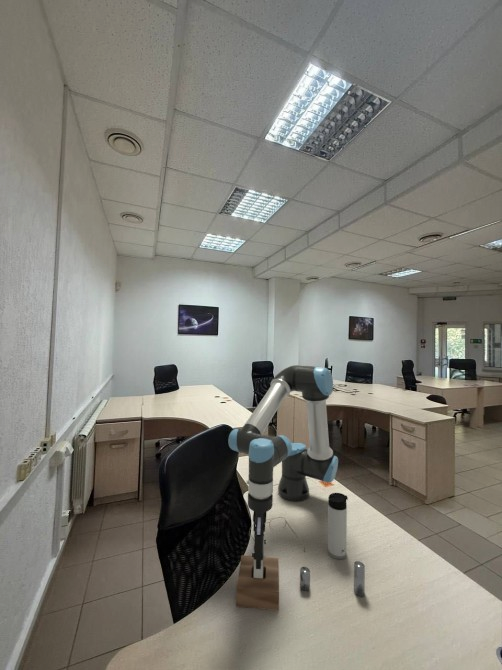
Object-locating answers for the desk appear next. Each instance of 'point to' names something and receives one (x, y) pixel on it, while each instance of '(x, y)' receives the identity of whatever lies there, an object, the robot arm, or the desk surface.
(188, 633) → the desk surface
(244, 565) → the collar block
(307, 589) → the short pin
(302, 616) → the desk surface
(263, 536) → the long pin
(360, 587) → the medium pin
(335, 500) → the travel mug
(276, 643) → the desk surface
